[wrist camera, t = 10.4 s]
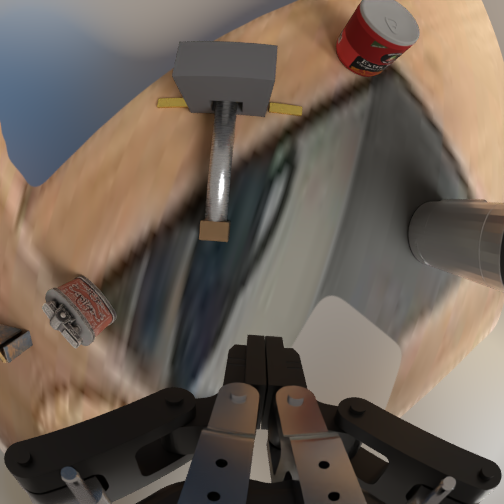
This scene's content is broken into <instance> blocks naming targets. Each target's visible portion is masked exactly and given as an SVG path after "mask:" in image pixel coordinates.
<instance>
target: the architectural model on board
mask: <svg viewBox="0 0 504 504" xmlns="http://www.w3.org/2000/svg"><path fill="white" fill-rule="evenodd" d="M19 332H21V329H17V328H13V327H10V326H6V325H2V324H0V360H2V361H3V362H4V363H5V362H8V363H9V362H11V361H12V360H13V359H15V358H16V357H17V356H19V355H20V354H21V353H23V352H24V351H25V350H27V349H28V348H29V347H31V346H32V341H31V336H30V332H29V331H27V332H26V333H24V334H23V335H21V336H20V337H18V338H17V339H14V338H11V337H13V336H15V335H16V334H18V333H19Z"/></svg>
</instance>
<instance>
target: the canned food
mask: <svg viewBox="0 0 504 504" xmlns="http://www.w3.org/2000/svg"><path fill="white" fill-rule="evenodd" d="M418 38H419V27H418V25H417V22H416V20H415V19H414V17H413V16H412V15H411V14H410V12H409V11H408V10H407V9H406V8H405V7H403V6H402V5H401V4H399V3H398V2H396V1H395V0H362V1H361V3H360V4H359V5H358V7H357V9H356V10H355V12H354V13H353V15H352V17H351V18H350V20H349V21H348V23H347V25H346V26H345V28H344V30H343V31H342V33H341V35H340V36H339V38H338V40H337V44H336V50H337V54H338V57H339V59H340V61H341V62H342V63H343V64H344V65H345V66H346V68H348V69H349V70H350V71H352V72H354V73H355V74H358V75H361V76H366V77H369V76H375V75H378V74H380V73H381V72H382V71H383V70H384V69H386V68H387V67H388V66H389V65H390V64H391V63H392V62H394V61H395V60H396V59H397V58H398V57H399V56H401V55H402V54H403V53H404V52H405V51H406V50H408V49H409V48H410V47H411V46H412V45H413V44H414V43H415V42H416V41H417V40H418Z"/></svg>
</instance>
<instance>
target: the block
mask: <svg viewBox="0 0 504 504" xmlns="http://www.w3.org/2000/svg"><path fill="white" fill-rule="evenodd" d="M276 59H277V46H275V45H266V44H256V43H243V42H220V41H197V42H195V41H193V42H192V41H191V42H179V47H178V51H177V56H176V60H175V65H174V70H173V74H172V77H173V79H174V81H175V83H176V85H177V87H178V89H179V90H180V92H181V94H182V96H183V98H184V100H185V102H186V104H187V106H188V108H189V110H190V112H191V113H215V109H216V101H233V102H238V105H237V115H250V116H261V117H265V114H266V111H267V107H268V104H269V100H270V96H271V93H272V89H273V86H274V82H275V73H276Z"/></svg>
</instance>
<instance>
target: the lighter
mask: <svg viewBox="0 0 504 504" xmlns="http://www.w3.org/2000/svg"><path fill="white" fill-rule="evenodd" d="M45 299H46V303H45V304H44V305H43V306H42V309H43V311H44V312H45V314H46V315H47V316H48V318H49V319H50V325H51V326H52V328H53V329H55V330H58V331H60V332H61V333H62V335H63V336H64V337H65V338H66V339H67V341H68V342H69V343H70V344H71V345H72V346H73V347H74V348H77V347H79V346H80V345H81V344H82V345H84V346H88V345H90V344H91V343H92V342H93V341H94V339H95V337H96V336H97V335H98V334H99V333H100V332H101V331H102V330H104V329H105V328H106V327H107V326H108V325H110V324H112V323H113V322H114V321H115V319H116V312H115V310H114V309H113V307H112V306H111V304H110V303H109V301H108V300H107V299H106V297H105V296H104V295H103V293H102V292H101V291H100V290H99V289H98V288H97V287H96V286H95V285H94V284H93V283H92V282H91V281H90V280H88V279H87V278H86V277H85V276H82V275H81V276H78V277H76V278H75V279H74V280H72V281H70V282H68V283H66V284H64V285H62V286H60V287H58V288H52V289H50V290H48V291H47V293H46V297H45Z"/></svg>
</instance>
